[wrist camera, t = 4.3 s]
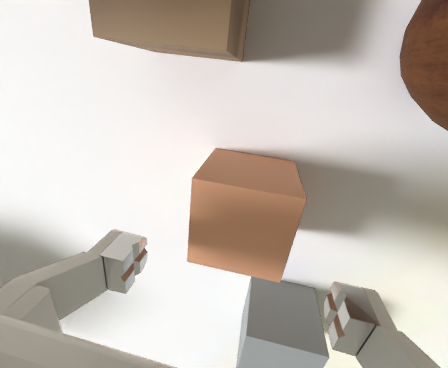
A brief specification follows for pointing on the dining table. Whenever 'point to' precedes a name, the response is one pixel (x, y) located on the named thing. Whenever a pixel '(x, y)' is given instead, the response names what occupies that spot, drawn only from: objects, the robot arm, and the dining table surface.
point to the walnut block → (174, 25)
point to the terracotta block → (245, 213)
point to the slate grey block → (281, 327)
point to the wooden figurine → (427, 59)
